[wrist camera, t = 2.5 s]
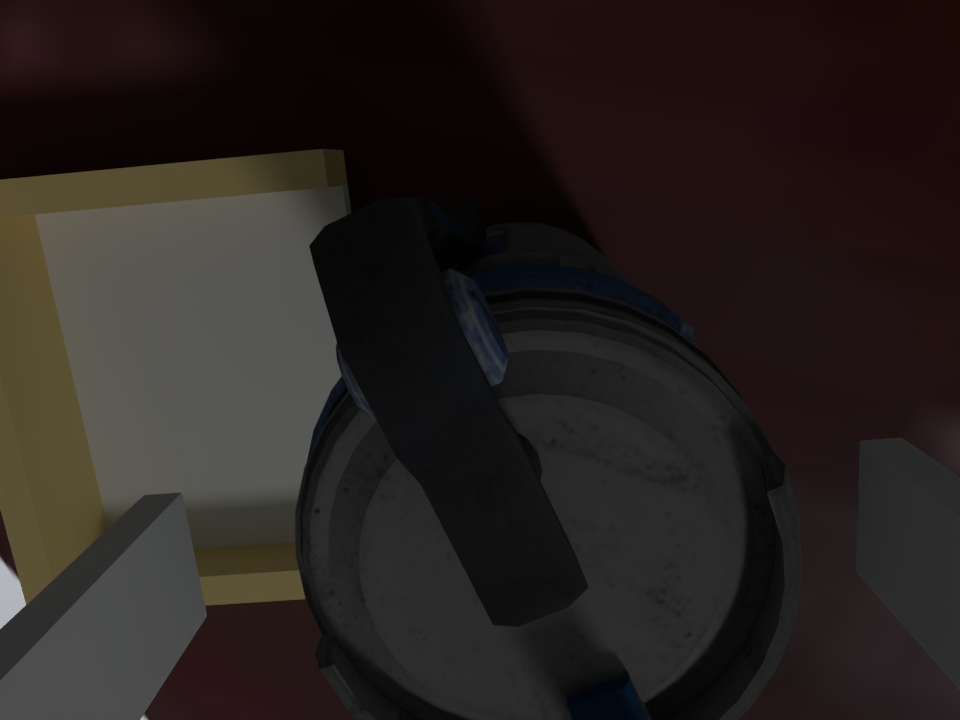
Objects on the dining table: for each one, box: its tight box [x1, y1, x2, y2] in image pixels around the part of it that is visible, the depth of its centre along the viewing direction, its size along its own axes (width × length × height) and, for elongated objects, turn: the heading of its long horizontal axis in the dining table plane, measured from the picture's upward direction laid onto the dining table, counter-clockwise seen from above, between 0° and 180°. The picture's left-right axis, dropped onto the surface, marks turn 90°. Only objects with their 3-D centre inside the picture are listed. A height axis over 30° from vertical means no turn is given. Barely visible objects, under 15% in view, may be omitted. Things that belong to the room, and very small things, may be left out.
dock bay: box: [0, 149, 351, 605], centre depth 34 cm, size 20×16×6 cm
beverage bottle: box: [295, 194, 802, 720], centre depth 24 cm, size 10×13×25 cm
